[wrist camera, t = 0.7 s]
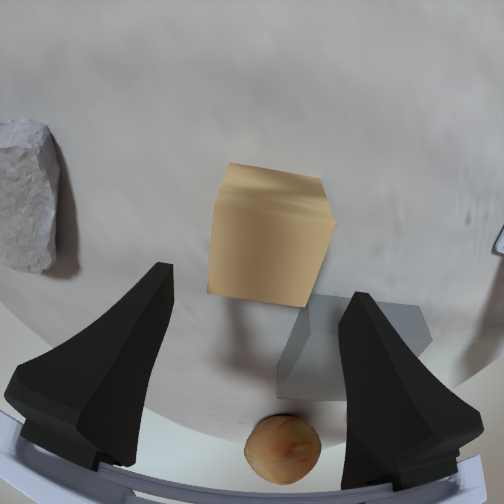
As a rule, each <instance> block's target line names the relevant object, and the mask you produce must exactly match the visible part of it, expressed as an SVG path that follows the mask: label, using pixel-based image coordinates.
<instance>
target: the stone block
mask: <svg viewBox="0 0 504 504" xmlns="http://www.w3.org/2000/svg"><path fill="white" fill-rule="evenodd" d="M60 174H61V167H60V164H59V162H58V159H57V155H56V151H55V147H54V144H53V141H52V136H51V134H50V131H49V129H48V127H47V125H45V124H43V123H39V122H35V121H32V120H30V119H26V118H23V119H20V120H17V121H11V122H10V123H4V124H3V123H0V263H1V264H3V265H4V266H6V267H9V268H11V269H13V270H17V271H19V272H25V273H36V274H41V273H42V272H43V271H44V270H45V269H46V270H48V269H49V268H50V267H51V266H52V265H54V264H55V262H56V258H57V255H56V245H55V233H56V225H57V223H56V213H57V209H58V194H59V179H60Z"/></svg>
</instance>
